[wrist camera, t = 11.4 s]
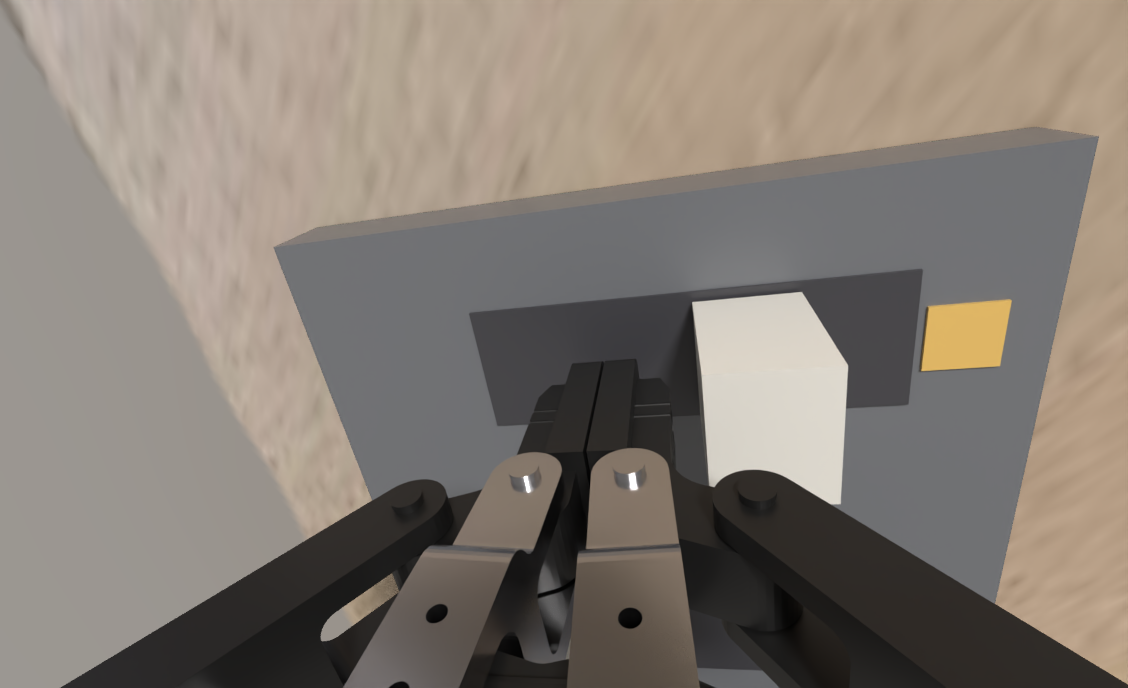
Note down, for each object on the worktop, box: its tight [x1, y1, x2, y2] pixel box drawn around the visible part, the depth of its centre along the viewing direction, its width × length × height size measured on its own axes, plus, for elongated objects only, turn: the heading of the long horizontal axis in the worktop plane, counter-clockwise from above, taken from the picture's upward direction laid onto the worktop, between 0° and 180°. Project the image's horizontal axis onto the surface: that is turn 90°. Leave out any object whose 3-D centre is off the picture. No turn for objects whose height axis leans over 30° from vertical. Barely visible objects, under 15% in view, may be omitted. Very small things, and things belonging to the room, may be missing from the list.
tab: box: [692, 292, 848, 504], centre depth 12 cm, size 2×3×4 cm
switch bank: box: [274, 127, 1099, 688], centre depth 17 cm, size 18×18×2 cm
